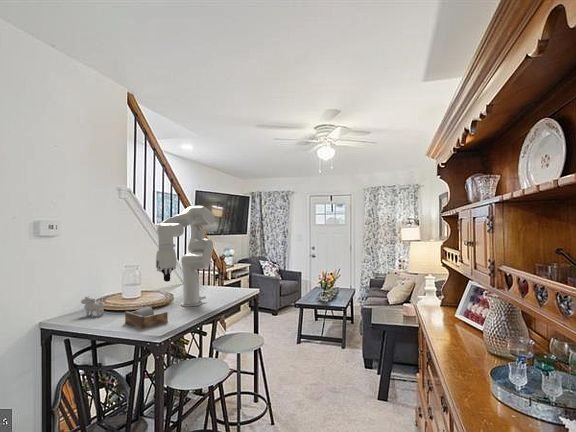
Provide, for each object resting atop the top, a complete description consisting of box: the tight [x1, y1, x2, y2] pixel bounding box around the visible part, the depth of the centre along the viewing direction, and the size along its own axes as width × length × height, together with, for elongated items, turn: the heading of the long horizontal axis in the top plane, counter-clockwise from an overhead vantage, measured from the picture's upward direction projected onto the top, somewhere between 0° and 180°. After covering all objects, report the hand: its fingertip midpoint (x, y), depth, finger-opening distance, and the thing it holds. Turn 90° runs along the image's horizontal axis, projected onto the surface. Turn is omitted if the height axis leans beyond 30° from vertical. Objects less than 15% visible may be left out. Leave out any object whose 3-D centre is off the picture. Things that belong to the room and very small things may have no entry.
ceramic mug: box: [134, 306, 155, 317], centre depth 170 cm, size 11×8×8 cm
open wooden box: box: [124, 310, 168, 329], centre depth 172 cm, size 14×16×6 cm
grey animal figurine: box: [80, 295, 105, 318], centre depth 189 cm, size 5×13×11 cm, turn 83°
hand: (167, 281), depth 182 cm, fingers closed
